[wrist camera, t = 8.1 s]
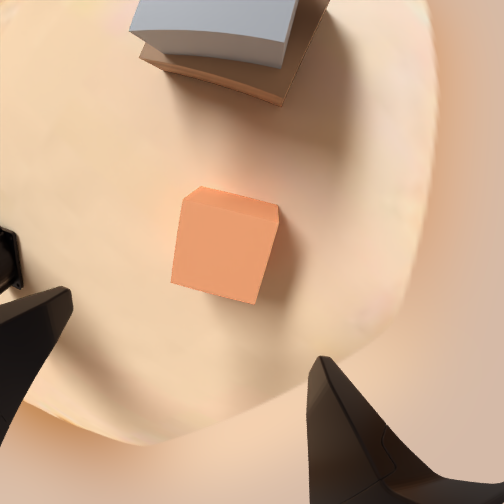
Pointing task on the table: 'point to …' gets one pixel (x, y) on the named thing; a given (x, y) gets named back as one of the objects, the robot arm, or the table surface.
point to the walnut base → (248, 74)
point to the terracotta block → (224, 243)
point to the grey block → (218, 28)
